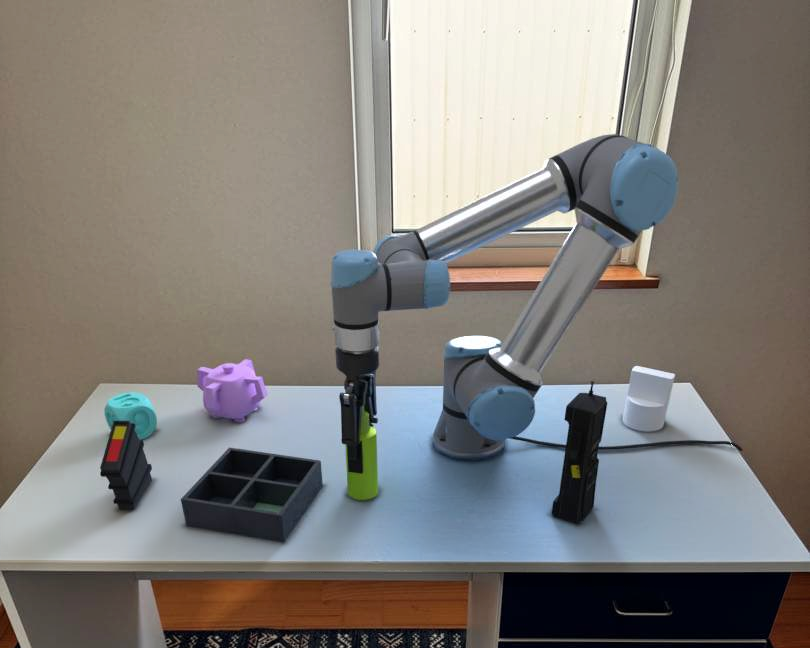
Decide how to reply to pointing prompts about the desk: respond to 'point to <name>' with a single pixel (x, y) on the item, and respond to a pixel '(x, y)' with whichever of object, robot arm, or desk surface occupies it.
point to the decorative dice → (132, 412)
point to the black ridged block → (126, 465)
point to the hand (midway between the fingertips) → (361, 462)
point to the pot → (231, 390)
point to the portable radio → (580, 457)
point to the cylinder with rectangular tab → (647, 399)
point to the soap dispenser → (365, 464)
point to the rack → (253, 494)
